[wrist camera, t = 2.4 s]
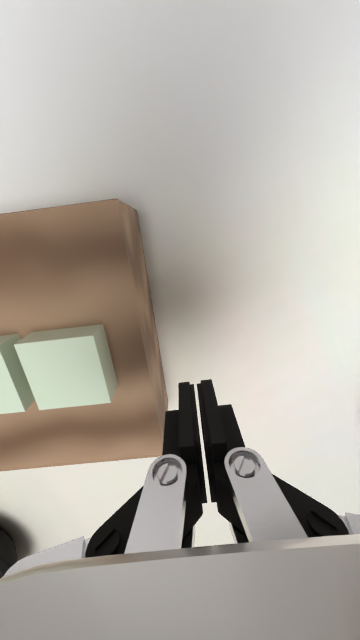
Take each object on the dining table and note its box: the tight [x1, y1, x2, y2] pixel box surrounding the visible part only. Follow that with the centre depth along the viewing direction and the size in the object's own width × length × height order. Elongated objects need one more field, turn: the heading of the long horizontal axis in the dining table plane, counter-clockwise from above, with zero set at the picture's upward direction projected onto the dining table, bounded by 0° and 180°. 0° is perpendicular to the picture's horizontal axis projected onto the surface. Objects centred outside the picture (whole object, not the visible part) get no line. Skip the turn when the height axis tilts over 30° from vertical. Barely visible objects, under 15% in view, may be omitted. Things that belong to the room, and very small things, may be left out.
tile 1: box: [14, 324, 118, 410], centre depth 16 cm, size 5×5×2 cm
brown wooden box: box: [0, 199, 168, 471], centre depth 21 cm, size 20×16×7 cm
